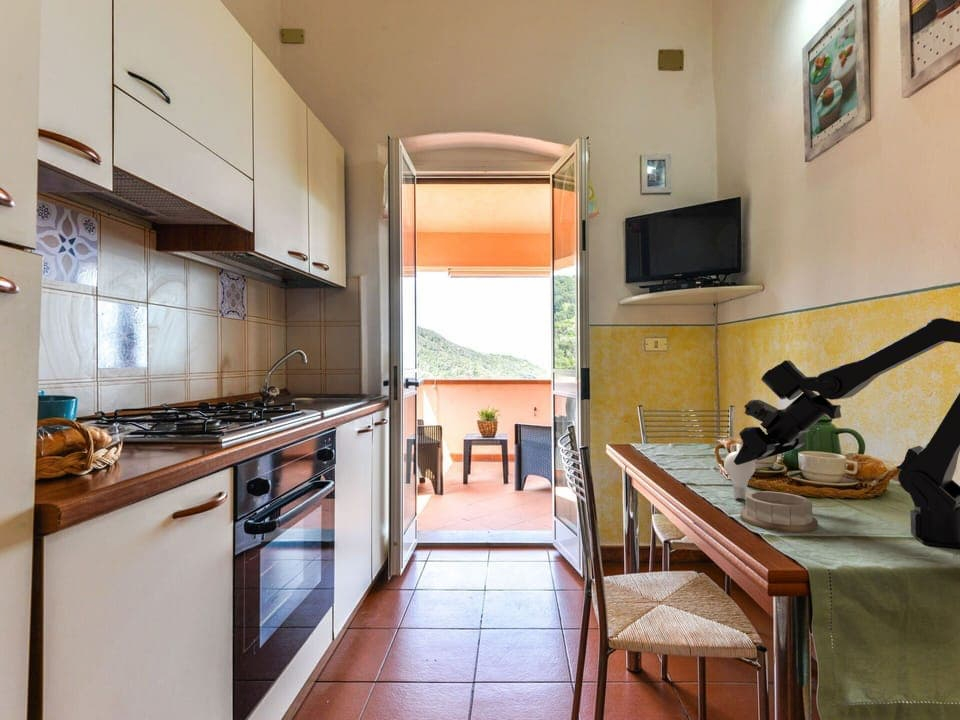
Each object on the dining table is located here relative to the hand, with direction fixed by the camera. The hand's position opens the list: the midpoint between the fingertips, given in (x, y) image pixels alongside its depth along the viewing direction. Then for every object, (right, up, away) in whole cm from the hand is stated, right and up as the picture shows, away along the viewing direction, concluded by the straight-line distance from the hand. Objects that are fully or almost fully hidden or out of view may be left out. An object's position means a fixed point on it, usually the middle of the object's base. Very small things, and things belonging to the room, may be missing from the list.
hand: (745, 460), depth 113 cm
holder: (-2, -9, -15) cm, 17 cm away
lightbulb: (-1, -9, +1) cm, 9 cm away
